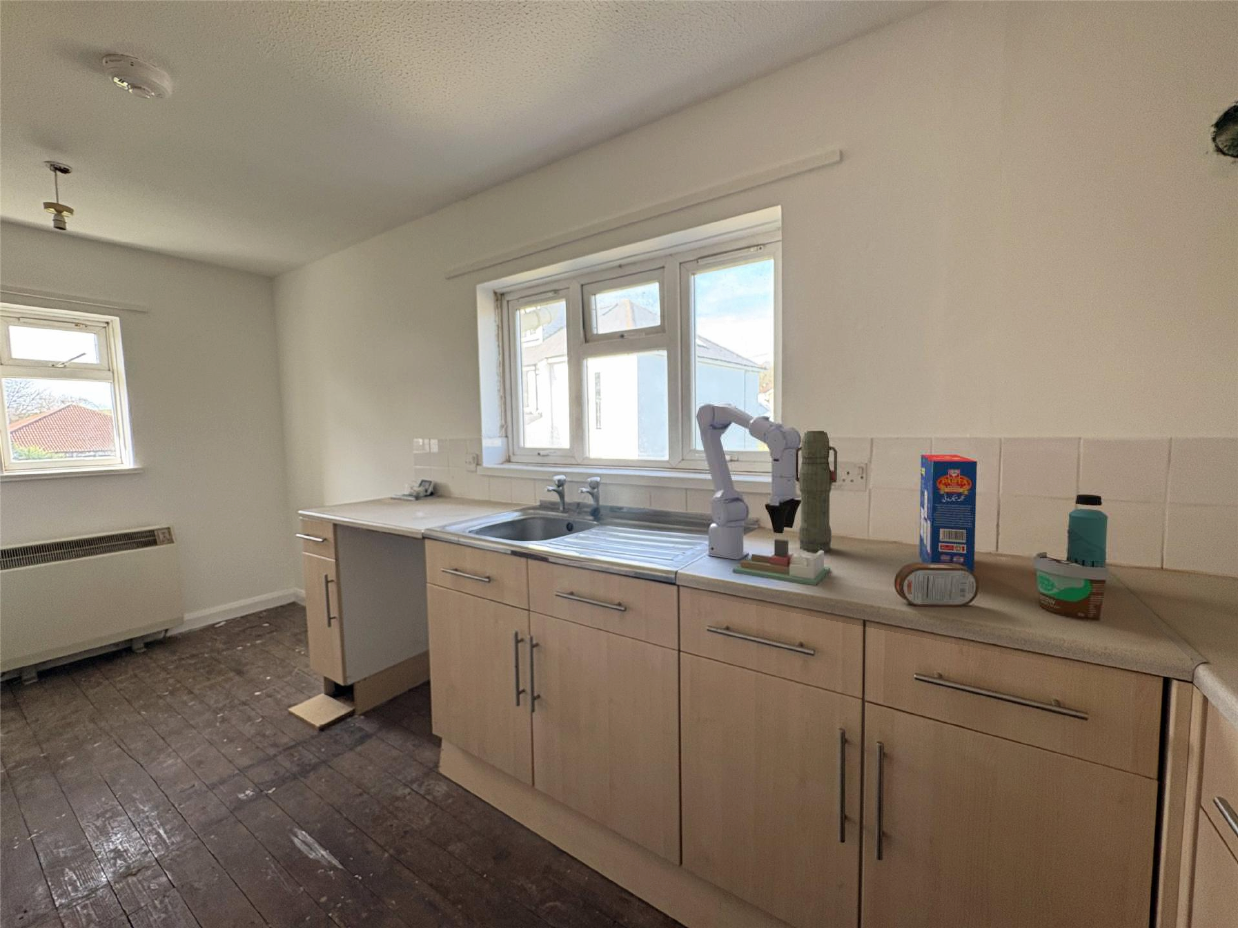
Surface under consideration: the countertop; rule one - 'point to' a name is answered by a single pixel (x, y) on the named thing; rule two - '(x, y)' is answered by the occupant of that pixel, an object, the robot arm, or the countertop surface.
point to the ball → (798, 560)
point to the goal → (809, 566)
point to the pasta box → (948, 510)
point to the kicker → (780, 553)
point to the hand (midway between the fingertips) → (783, 530)
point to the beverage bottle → (1087, 533)
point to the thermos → (815, 491)
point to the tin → (936, 584)
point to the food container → (1070, 587)
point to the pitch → (773, 570)
